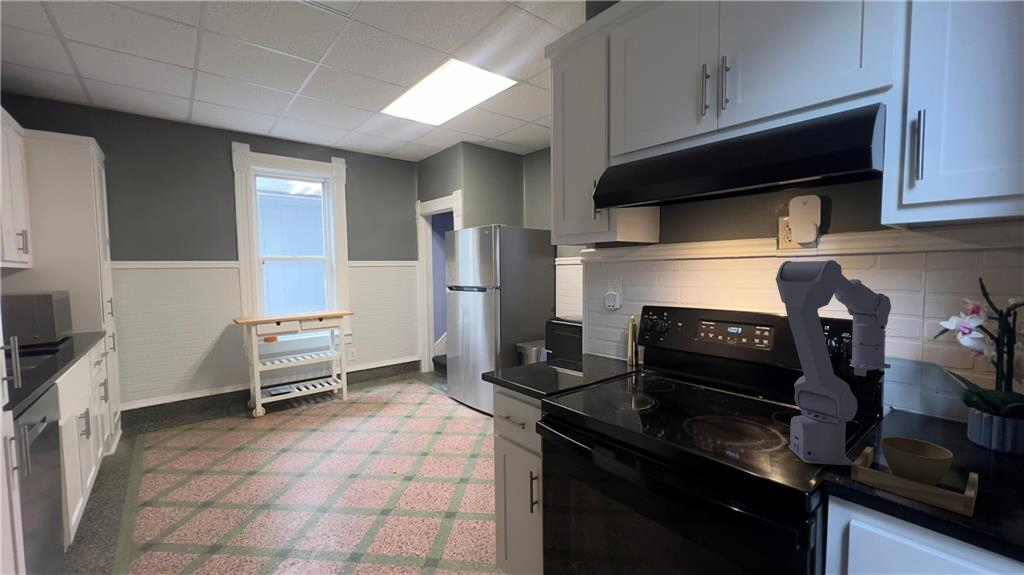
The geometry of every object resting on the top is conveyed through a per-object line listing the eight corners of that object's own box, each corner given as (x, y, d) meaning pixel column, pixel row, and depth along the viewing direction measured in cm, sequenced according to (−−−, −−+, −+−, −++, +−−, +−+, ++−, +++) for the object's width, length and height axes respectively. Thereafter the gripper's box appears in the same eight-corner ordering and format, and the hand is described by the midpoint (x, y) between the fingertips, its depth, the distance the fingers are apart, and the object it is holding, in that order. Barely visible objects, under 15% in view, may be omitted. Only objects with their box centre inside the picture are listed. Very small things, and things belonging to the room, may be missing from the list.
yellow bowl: (967, 499, 75) (969, 460, 74) (902, 494, 77) (903, 456, 77) (925, 472, 85) (926, 437, 84) (868, 468, 87) (869, 434, 86)
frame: (972, 517, 70) (972, 499, 69) (851, 480, 82) (851, 465, 82) (977, 489, 78) (978, 473, 78) (867, 459, 90) (867, 446, 90)
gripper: (883, 350, 90) (882, 412, 91) (896, 341, 100) (895, 397, 100) (843, 346, 96) (842, 404, 97) (859, 338, 105) (858, 391, 106)
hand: (866, 400), depth 99 cm, fingers closed
